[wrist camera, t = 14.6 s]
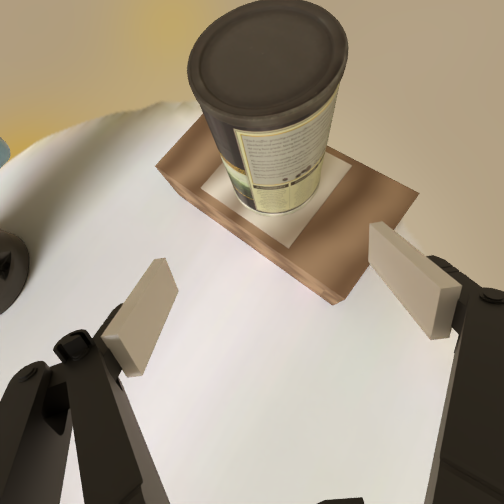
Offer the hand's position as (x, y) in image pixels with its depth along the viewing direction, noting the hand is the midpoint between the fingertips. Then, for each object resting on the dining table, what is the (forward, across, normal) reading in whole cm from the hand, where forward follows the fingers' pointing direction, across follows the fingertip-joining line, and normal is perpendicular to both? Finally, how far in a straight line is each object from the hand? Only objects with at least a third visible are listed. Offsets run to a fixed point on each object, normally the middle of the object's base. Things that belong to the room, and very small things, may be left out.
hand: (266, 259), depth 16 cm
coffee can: (+16, +2, +1) cm, 16 cm away
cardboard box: (+21, +2, -4) cm, 22 cm away
